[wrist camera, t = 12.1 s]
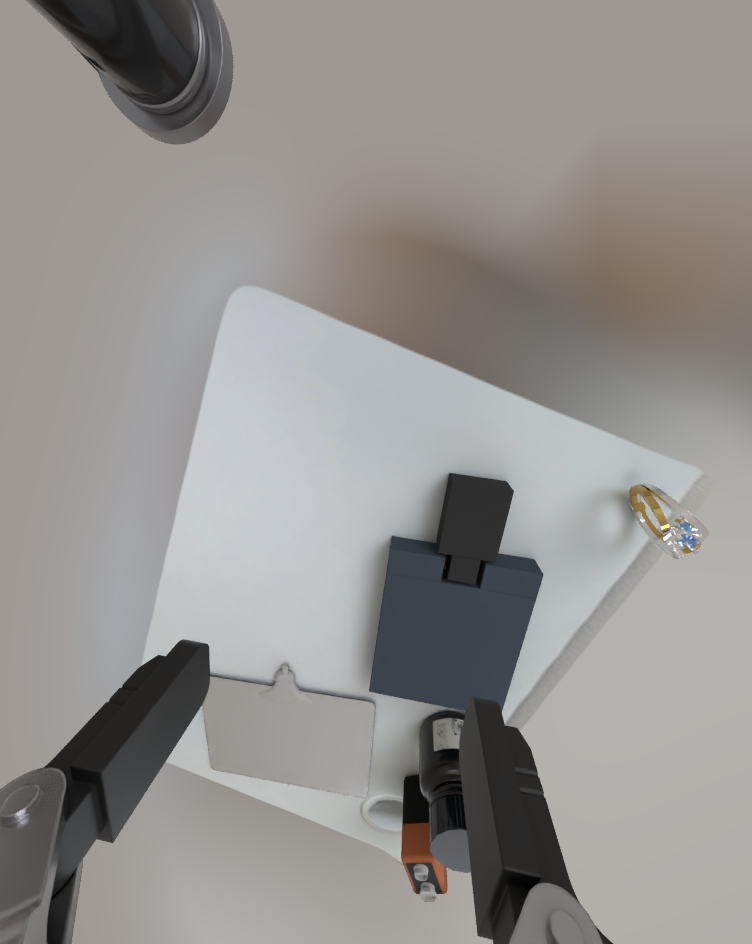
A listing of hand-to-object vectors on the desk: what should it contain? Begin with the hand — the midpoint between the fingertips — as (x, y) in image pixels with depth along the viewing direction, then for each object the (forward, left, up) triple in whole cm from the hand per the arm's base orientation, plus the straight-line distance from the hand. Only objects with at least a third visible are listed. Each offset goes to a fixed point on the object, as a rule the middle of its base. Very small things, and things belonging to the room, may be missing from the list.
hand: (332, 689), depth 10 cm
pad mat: (+19, +9, -28) cm, 35 cm away
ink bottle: (+37, +13, -28) cm, 48 cm away
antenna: (+42, -10, -28) cm, 52 cm away
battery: (+49, +11, -28) cm, 58 cm away
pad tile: (+6, +9, -28) cm, 30 cm away
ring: (+1, +25, -28) cm, 38 cm away
